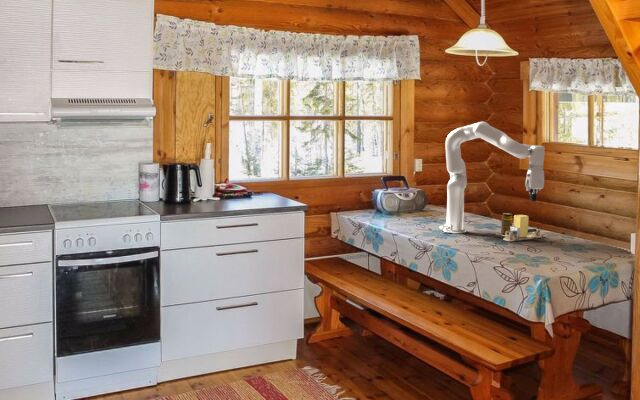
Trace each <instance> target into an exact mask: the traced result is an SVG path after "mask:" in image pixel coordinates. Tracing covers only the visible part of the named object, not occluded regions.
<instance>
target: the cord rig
mask: <svg viewBox="0 0 640 400" xmlns="http://www.w3.org/2000/svg"><path fill="white" fill-rule="evenodd" d="M528 233H531V234H528V236H525V237H520V239H514V238H513V234H515V232H514V231H506V232H505V236H504V238H503V239H502V240H503V241H506V242H515V241H524V240H533V239H539V238H540V237H541V238H543V236H542V235H541V228H539V227H533V228H528Z"/></svg>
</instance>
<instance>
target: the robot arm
mask: <svg viewBox="0 0 640 400" xmlns="http://www.w3.org/2000/svg"><path fill="white" fill-rule="evenodd" d="M475 139H481V140H484V141H485V142H487V143H489V144H491V145H493V146H495V147H497V148H498V149H501V150H503V151H504V152H506V153H508V154H509V155H511V156H513V157H515V158H518V159H520V160H521V159H522V160H523V159H526V158H529V161H528V162H529V163H528V170H527V172H526V177H525V183H524V184H525V185H524V186H525V191H528V194H529V201H531V202H536V201H537V196H538V193H539V191H542V189H544V187H545V171H544V163H545V162H544V161H545V153H546V152H545V151H546V147H545V146H544V145H539V144H538V145H531V144H526V143H520V142H518V141H516V140H514V139H513V138H511V137H509V136H508V135H507V134H506V132H504V131H502V130H500V129H498V128H496V127H494V126H491V125H490V124H489V123H488V122H486V121H478V122H476V123H472V124H469V125H465V126H461V127H457V128H456V129H454V130H452V131H451V132H450V133H449V134H448V135H447V137H446V138H445V143H444V144H445V160H446V161H445V162H446V170H447V172H448V173H449V178H450V179H449V181H448V183H447V185H446V192H447V195H446V196H447V198H446V223H444V225H439V229H440V230H443V232H444V233H449V234H450V233H451V234H464V233H466V229H465V228H464V214H465V213H464V211H465V189H466V188H467V185H468V178H467V170H466V169H467V167H466V163H465V161H464V159H463V158H462V152H461V150H462V149H461V144H462V143H465V142H467V141H471V140H475Z"/></svg>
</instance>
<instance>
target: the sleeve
mask: <svg viewBox="0 0 640 400" xmlns="http://www.w3.org/2000/svg"><path fill="white" fill-rule="evenodd" d="M529 220H530V219H529V215H525V214H515V215H514V216H513V223H512V226H515V227H519V228H520V237H525V236H528V235H529V234H528V233H529V232H528V229H529Z"/></svg>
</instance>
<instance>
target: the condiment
mask: <svg viewBox="0 0 640 400" xmlns="http://www.w3.org/2000/svg"><path fill="white" fill-rule="evenodd" d="M501 216H502V217H501V222H500V224H501V226H500V232H497V233H496V232H495V233H494V234H495V235H499V236H502V237H505V232H506V231H510V226H513V214H512V213H509V212H504V213H502V215H501Z"/></svg>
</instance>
